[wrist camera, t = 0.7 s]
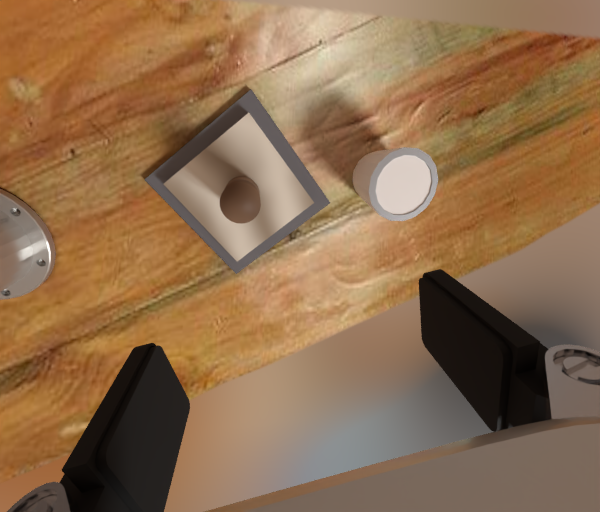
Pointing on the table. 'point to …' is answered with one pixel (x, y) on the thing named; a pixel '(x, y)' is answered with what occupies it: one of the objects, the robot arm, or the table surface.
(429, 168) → the white cup
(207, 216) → the lid
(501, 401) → the robot arm
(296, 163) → the mat
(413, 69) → the table surface
